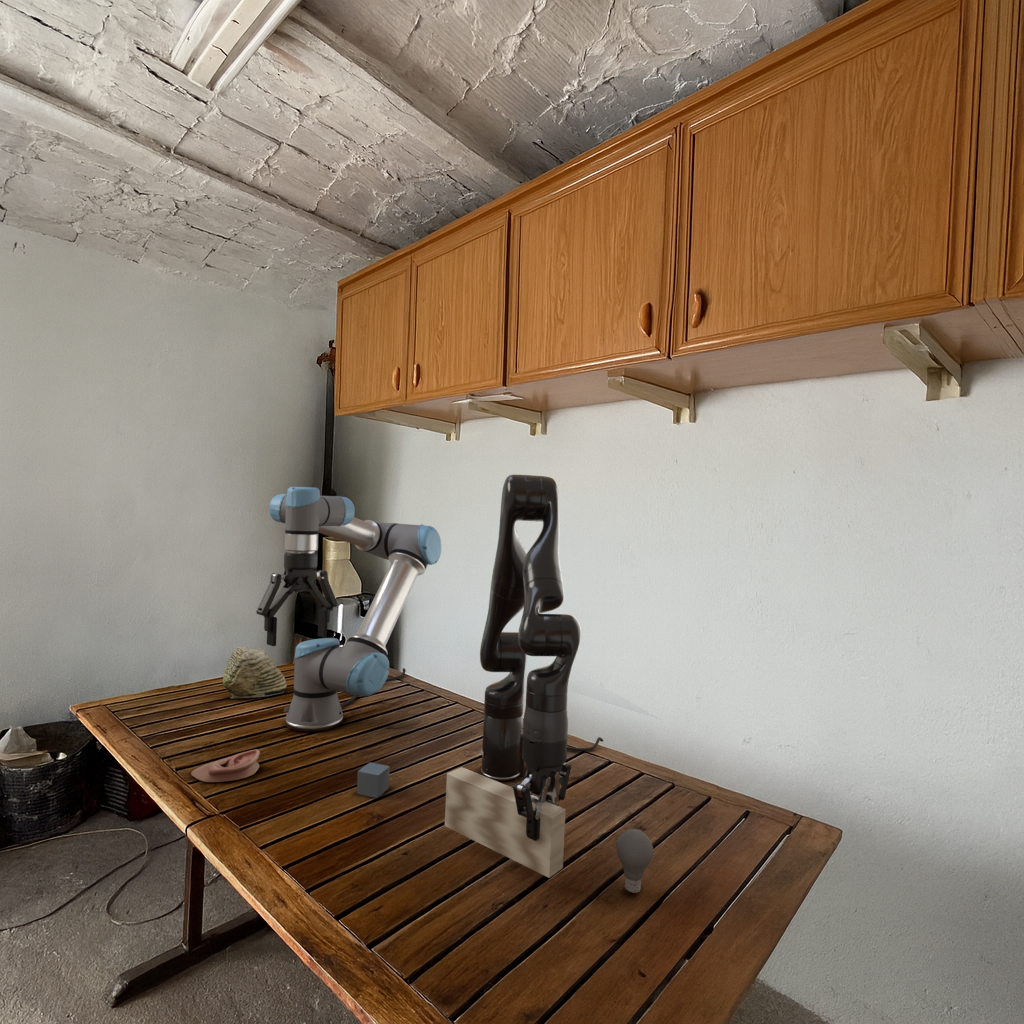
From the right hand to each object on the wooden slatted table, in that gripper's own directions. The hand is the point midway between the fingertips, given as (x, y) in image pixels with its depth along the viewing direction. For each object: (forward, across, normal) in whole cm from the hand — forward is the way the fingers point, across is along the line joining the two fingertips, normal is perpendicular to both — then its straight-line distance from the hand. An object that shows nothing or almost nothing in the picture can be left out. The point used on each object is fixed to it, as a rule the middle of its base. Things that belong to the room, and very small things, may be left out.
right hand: (540, 832), depth 107 cm
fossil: (+8, -18, -124) cm, 125 cm away
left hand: (-20, +1, -72) cm, 75 cm away
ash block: (+6, 0, -9) cm, 10 cm away
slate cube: (+8, -2, -46) cm, 47 cm away
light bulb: (+9, -9, +13) cm, 18 cm away
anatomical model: (+8, +15, -77) cm, 79 cm away
